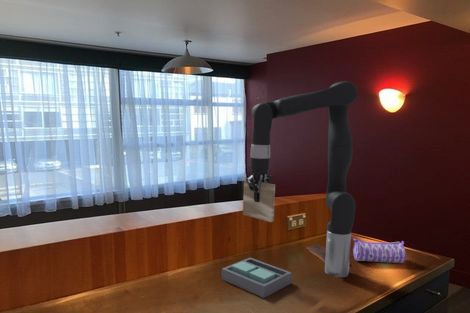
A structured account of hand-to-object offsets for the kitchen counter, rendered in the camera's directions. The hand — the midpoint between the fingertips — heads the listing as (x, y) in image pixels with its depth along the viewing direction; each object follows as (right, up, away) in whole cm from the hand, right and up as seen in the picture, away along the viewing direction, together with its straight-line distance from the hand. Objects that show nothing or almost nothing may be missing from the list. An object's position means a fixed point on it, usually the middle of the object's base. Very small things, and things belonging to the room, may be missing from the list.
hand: (258, 201), depth 144 cm
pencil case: (+54, -29, +20) cm, 64 cm away
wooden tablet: (+32, -28, +25) cm, 50 cm away
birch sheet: (0, -7, +1) cm, 7 cm away
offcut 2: (0, -29, -10) cm, 31 cm away
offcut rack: (-1, -30, -6) cm, 30 cm away
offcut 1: (-6, -28, -4) cm, 29 cm away
